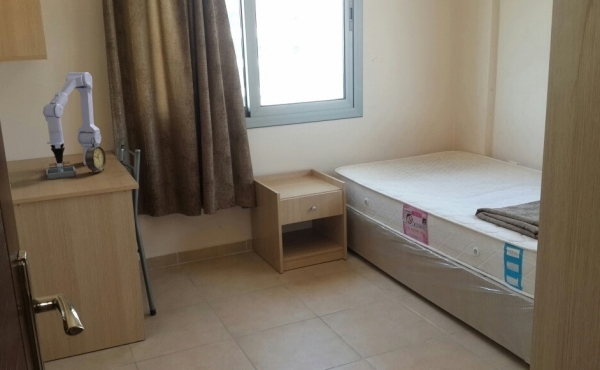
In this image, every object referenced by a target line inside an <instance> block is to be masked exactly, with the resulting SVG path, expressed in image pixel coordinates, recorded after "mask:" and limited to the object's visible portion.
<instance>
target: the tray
mask: <svg viewBox="0 0 600 370" xmlns="http://www.w3.org/2000/svg"><path fill="white" fill-rule="evenodd" d="M45 171H46V179H47V181H48V180H57V179H66V178H67V179H68V178H74V177H75V178H76V177H77V172H76V168H75V166H74V165H73V166H70V167H63V171H64V172H60V173H58V169H57V168H54V169H50V168H46V169H45Z"/></svg>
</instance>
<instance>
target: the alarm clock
mask: <svg viewBox="0 0 600 370" xmlns="http://www.w3.org/2000/svg"><path fill="white" fill-rule="evenodd" d="M92 138H93V137H92ZM92 138H91V140H92ZM93 139H94V138H93ZM94 143H95V140H94ZM94 143H92V142H91V144H92V147H90V148H88V149H87V151H86V154H85V161H86V165H85V166H86V167H87V168H88V169H89V170H90V171H91V172H92V174H93V175H95V173H96V172H97V171H99V172H100V171H102V170H103V171H104V168H105V166H106V162H107V161H106V160H107V158H106V152H105V149H104V148H103V147H102V146H99V145H98V146H96V147H95V146H94Z"/></svg>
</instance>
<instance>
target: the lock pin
mask: <svg viewBox="0 0 600 370" xmlns="http://www.w3.org/2000/svg"><path fill="white" fill-rule="evenodd" d="M53 155H54V154H53ZM53 157H55V155H54V156H53ZM55 161H56V160H55ZM55 163H57V161H56V162H55ZM57 169H58V173H60V172H64V171H63V164H62V163H59V164H57Z"/></svg>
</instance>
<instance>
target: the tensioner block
mask: <svg viewBox="0 0 600 370" xmlns="http://www.w3.org/2000/svg"><path fill="white" fill-rule="evenodd" d="M62 164H63V167H71V163H70V161H69V160H67V161H63V162H62ZM54 168H57V162H49V163H48V169H54Z"/></svg>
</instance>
